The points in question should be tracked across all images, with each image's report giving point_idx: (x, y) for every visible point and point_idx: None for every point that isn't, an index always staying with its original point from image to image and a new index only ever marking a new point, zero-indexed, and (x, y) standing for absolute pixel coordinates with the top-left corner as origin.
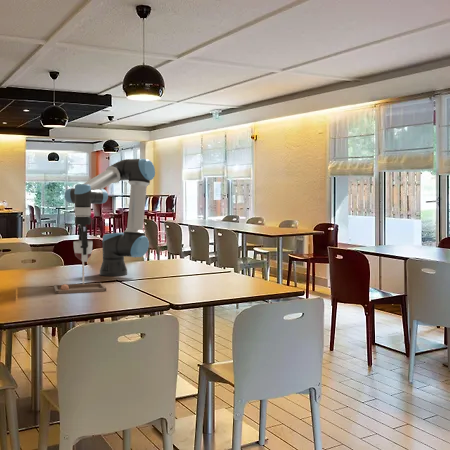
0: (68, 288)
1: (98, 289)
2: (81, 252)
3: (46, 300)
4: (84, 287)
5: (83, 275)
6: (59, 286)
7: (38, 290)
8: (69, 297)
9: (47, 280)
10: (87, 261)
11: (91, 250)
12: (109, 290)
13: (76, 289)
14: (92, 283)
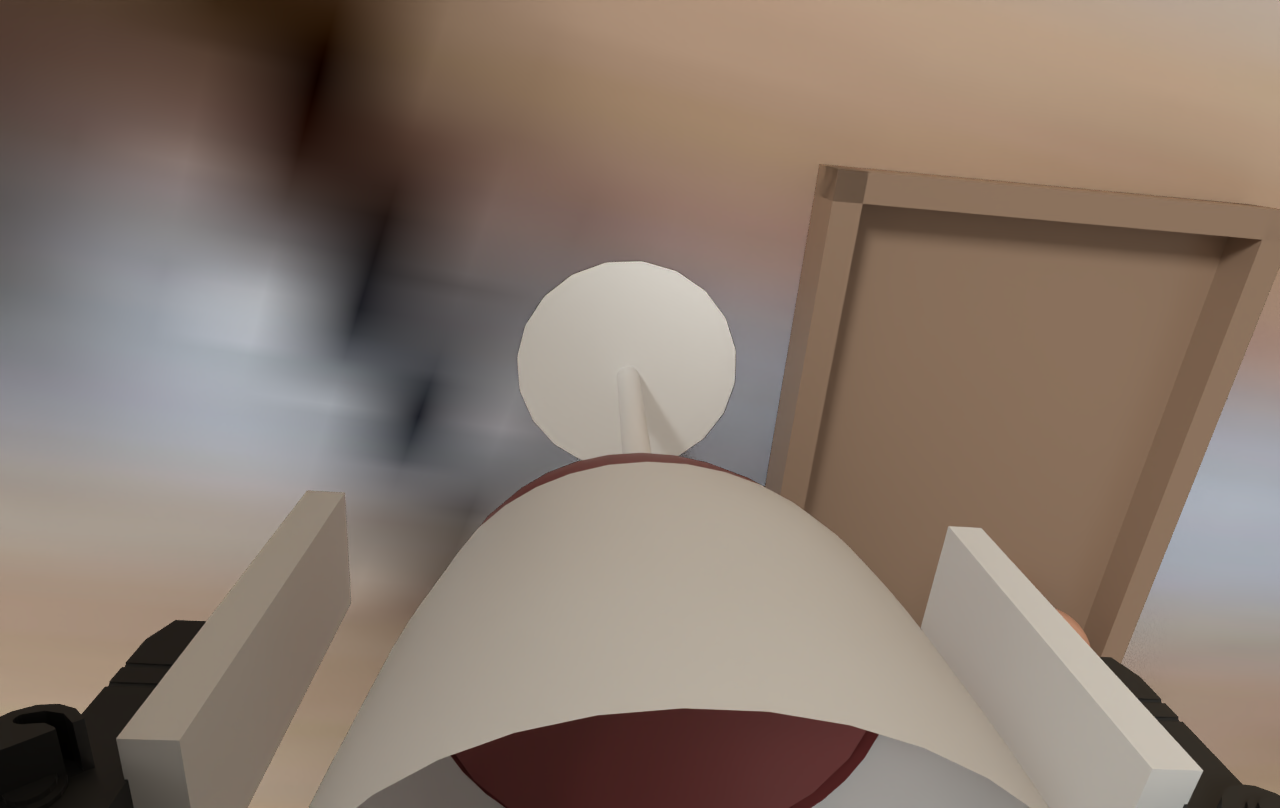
0: (1065, 614)
1: (1252, 311)
2: (885, 759)
3: (1237, 761)
4: (845, 400)
5: (646, 427)
6: None
7: None
8: (1232, 595)
9: (4, 676)
10: (980, 530)
11: (808, 526)
12: (1094, 117)
13: (1152, 547)
14: (820, 303)
